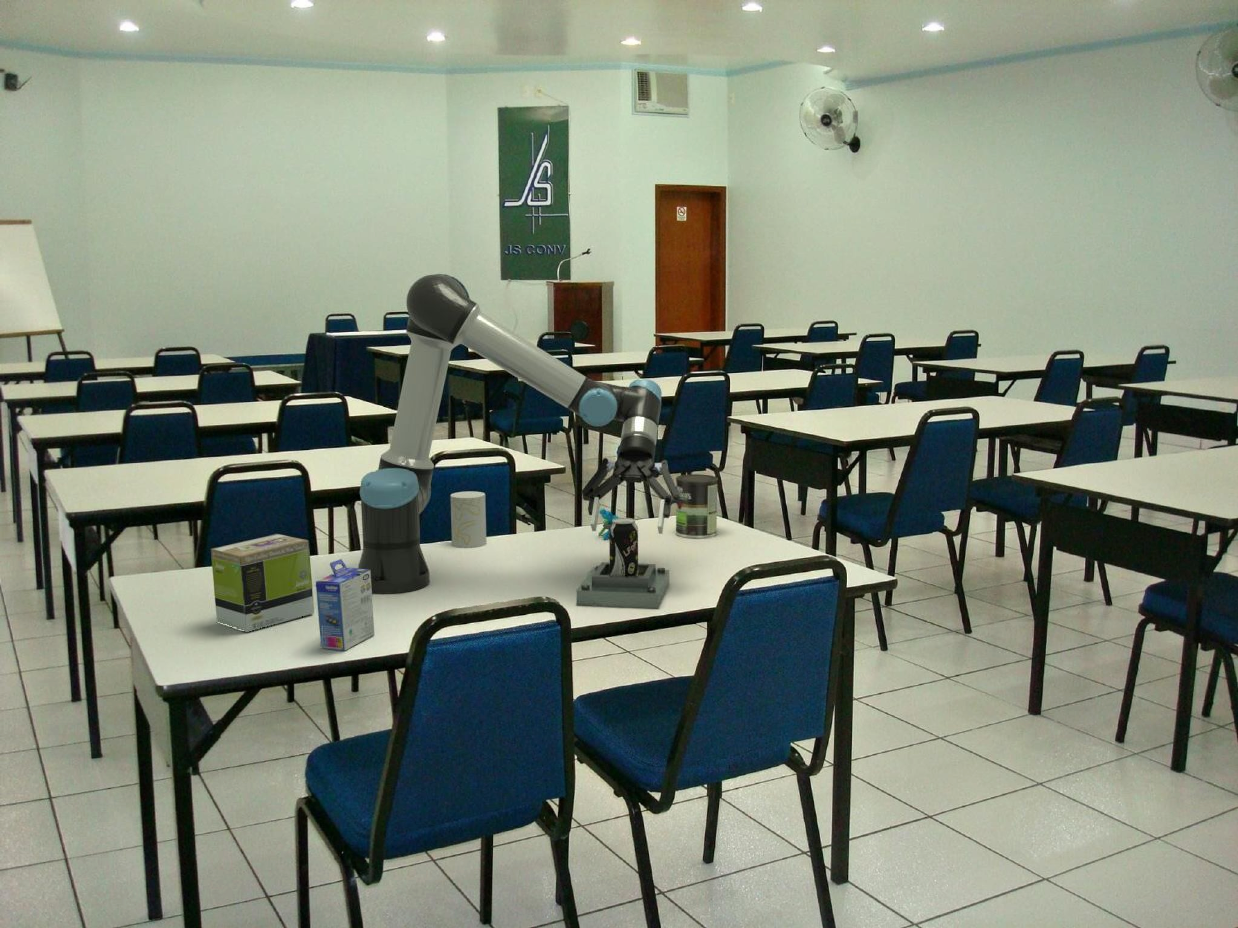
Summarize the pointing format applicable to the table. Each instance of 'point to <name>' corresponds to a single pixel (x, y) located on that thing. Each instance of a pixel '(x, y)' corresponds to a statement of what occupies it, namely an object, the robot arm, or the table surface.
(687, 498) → the coffee can
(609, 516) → the blue lumpy piece
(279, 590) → the tea box
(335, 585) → the ink cartridge box
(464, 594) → the table surface
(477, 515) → the cup
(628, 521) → the beverage can
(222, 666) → the table surface
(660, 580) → the grey socket fixture
